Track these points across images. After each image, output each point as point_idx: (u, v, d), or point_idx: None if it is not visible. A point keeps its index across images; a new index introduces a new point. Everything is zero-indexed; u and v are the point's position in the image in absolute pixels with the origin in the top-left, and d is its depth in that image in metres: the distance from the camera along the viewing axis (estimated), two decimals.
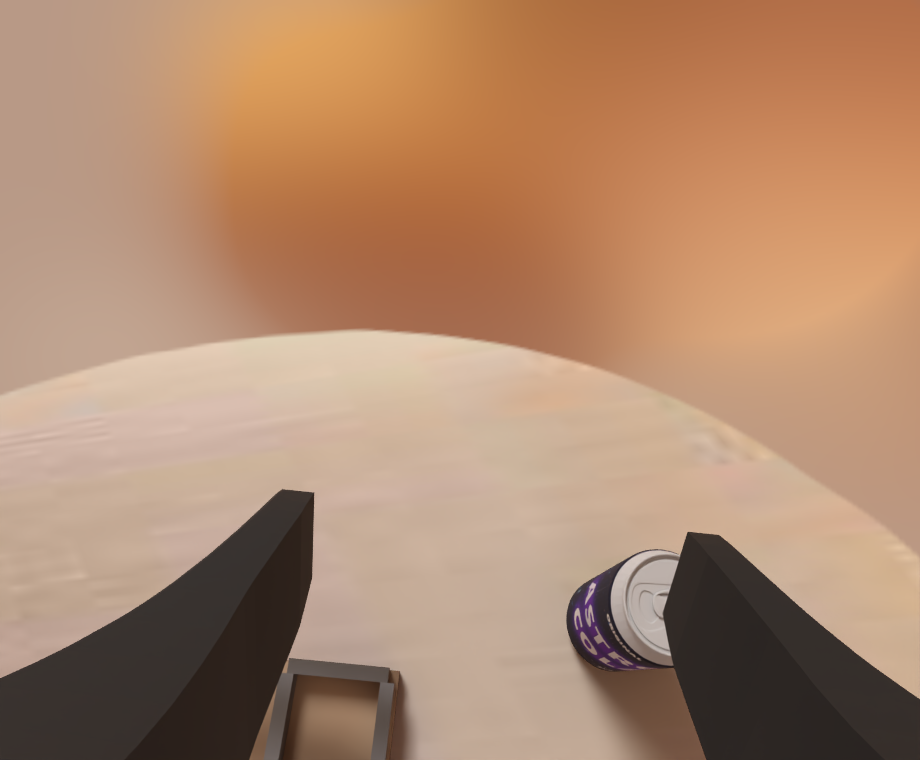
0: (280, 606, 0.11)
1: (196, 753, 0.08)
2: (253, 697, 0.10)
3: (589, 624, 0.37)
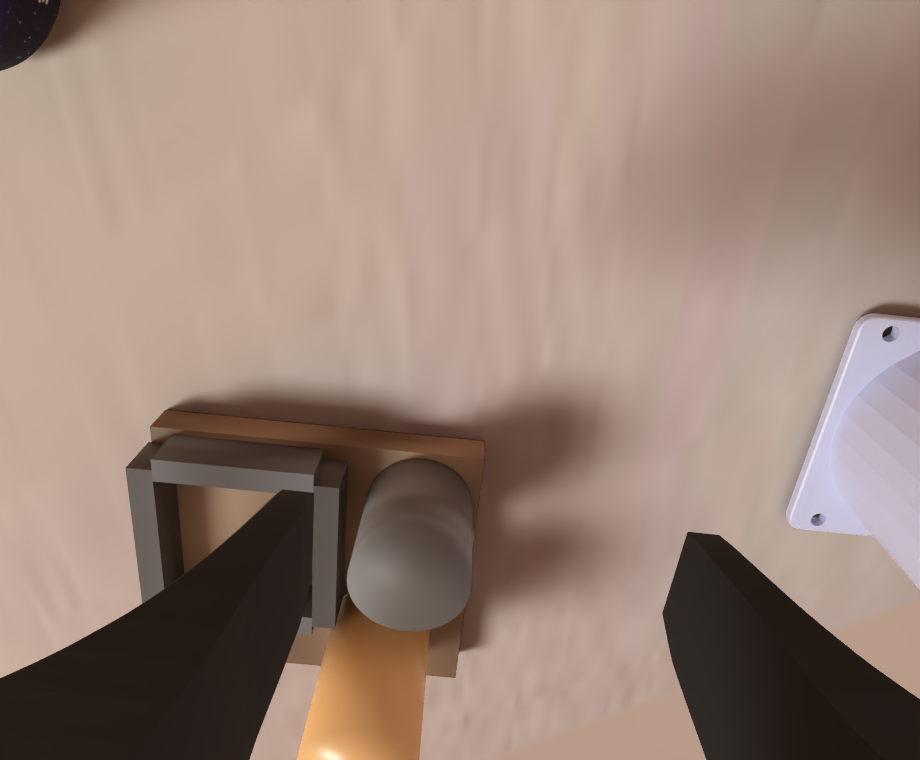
0: (280, 606, 0.11)
1: (196, 753, 0.08)
2: (253, 697, 0.10)
3: None
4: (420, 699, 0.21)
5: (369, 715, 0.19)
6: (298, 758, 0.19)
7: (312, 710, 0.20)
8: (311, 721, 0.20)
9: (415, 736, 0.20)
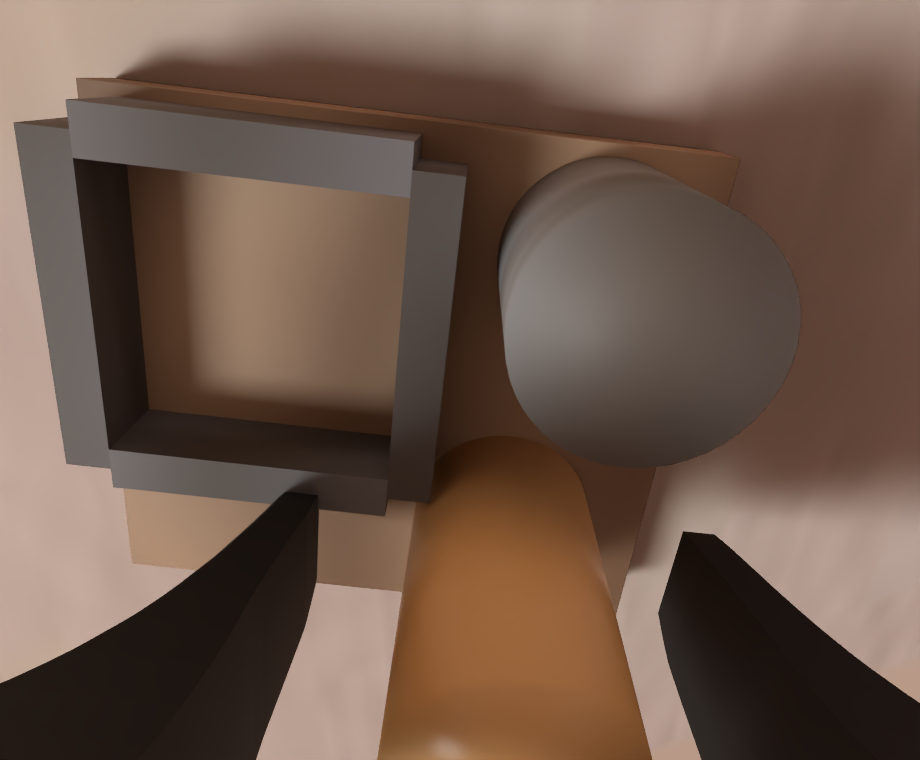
0: (286, 607, 0.11)
1: (205, 754, 0.08)
2: (260, 698, 0.10)
3: None
4: None
5: (549, 649, 0.08)
6: (385, 744, 0.08)
7: (407, 643, 0.10)
8: (410, 663, 0.09)
9: None
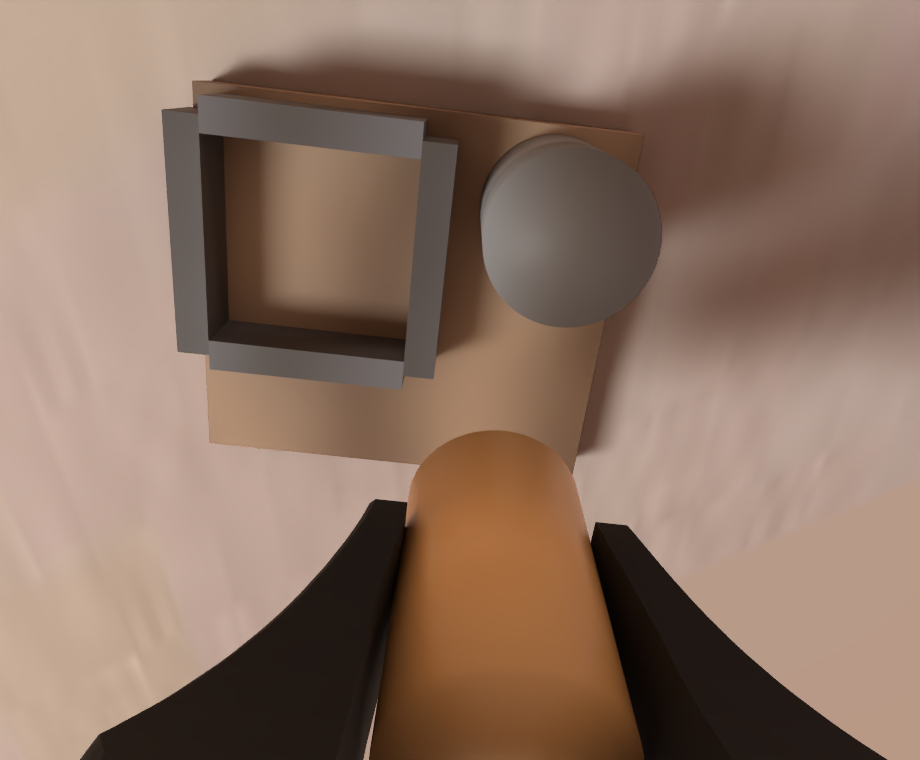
0: (386, 617, 0.11)
1: None
2: (367, 708, 0.10)
3: None
4: None
5: (534, 636, 0.09)
6: (376, 737, 0.09)
7: (396, 637, 0.10)
8: (399, 657, 0.09)
9: (625, 685, 0.09)
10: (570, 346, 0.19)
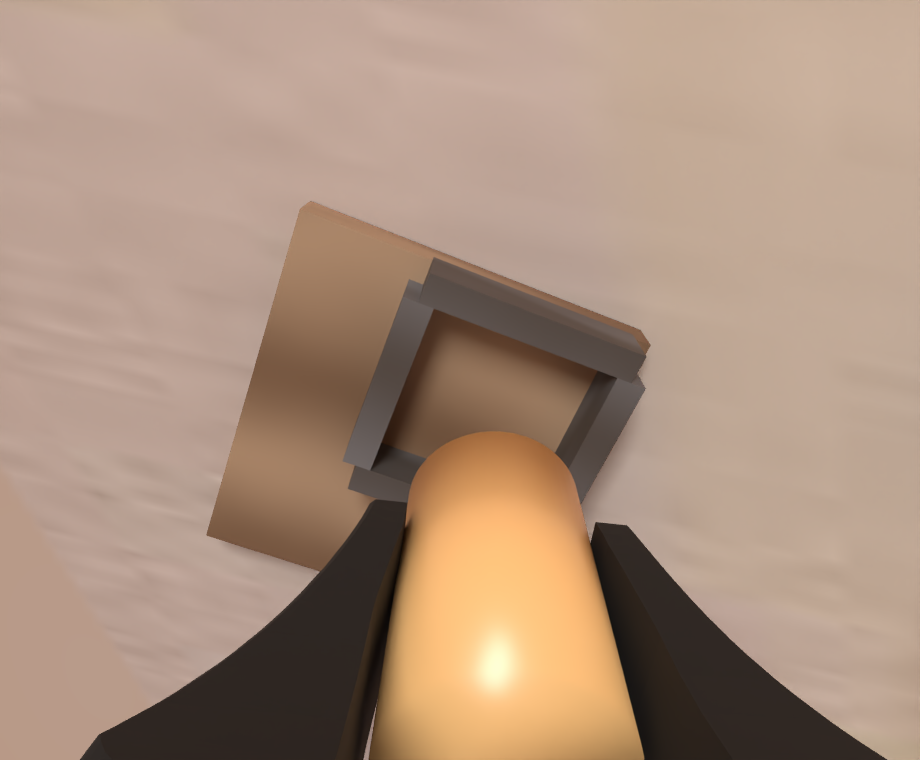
0: (386, 617, 0.11)
1: None
2: (367, 708, 0.10)
3: None
4: None
5: (533, 638, 0.09)
6: (376, 740, 0.09)
7: (396, 639, 0.10)
8: (399, 658, 0.09)
9: (625, 688, 0.09)
10: None
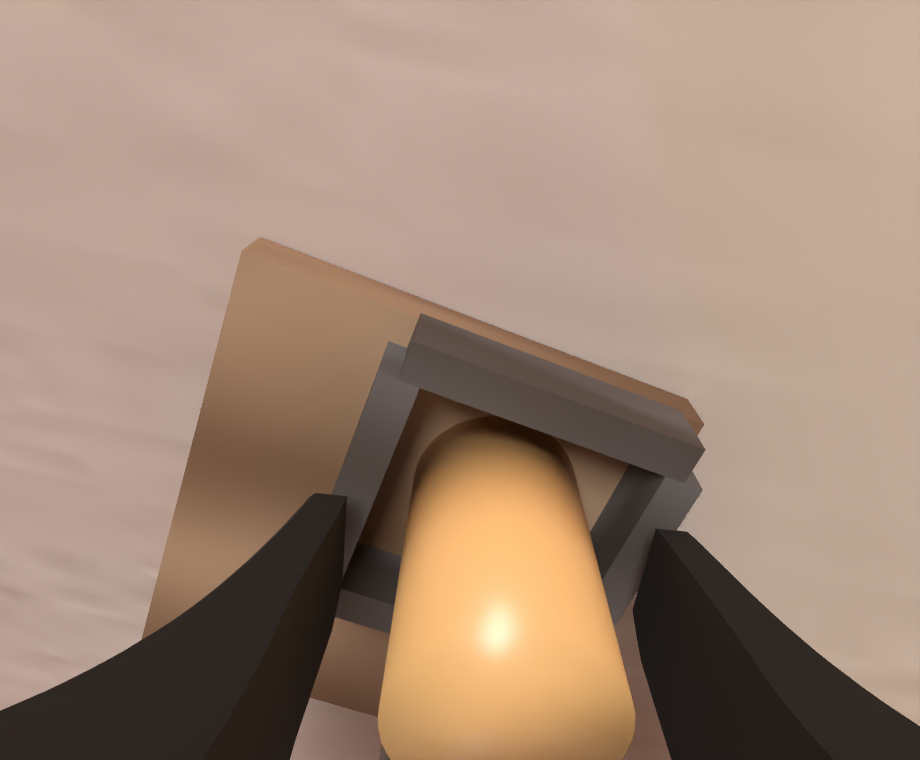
0: (317, 610, 0.11)
1: (250, 758, 0.08)
2: (293, 701, 0.10)
3: None
4: None
5: (532, 601, 0.09)
6: (385, 696, 0.09)
7: (403, 606, 0.10)
8: (406, 622, 0.10)
9: (618, 650, 0.10)
10: None
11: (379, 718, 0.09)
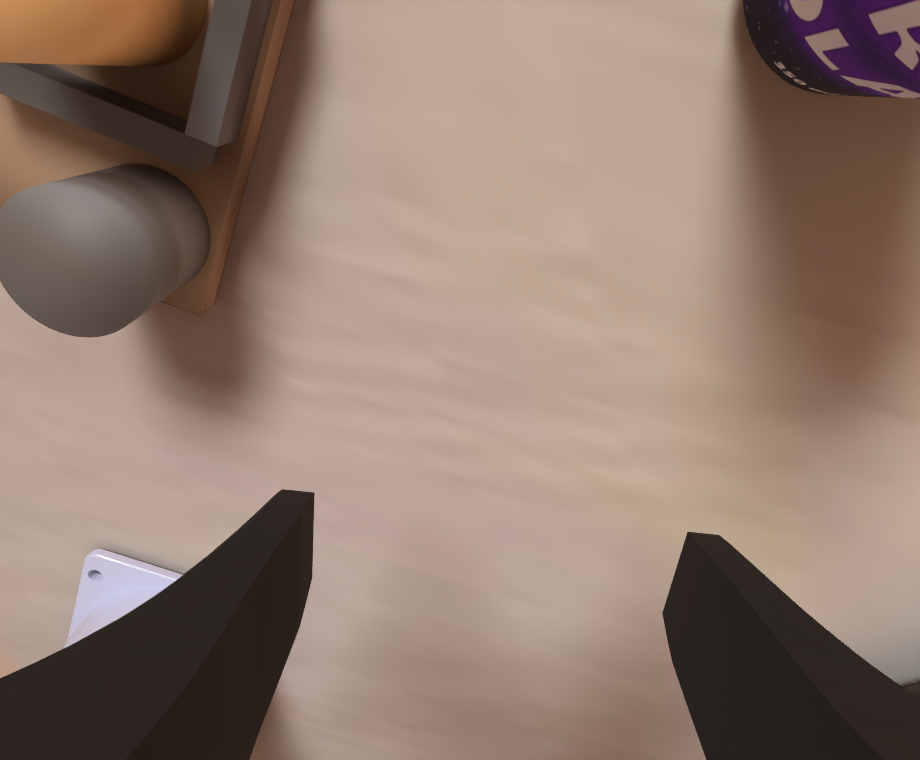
0: (280, 606, 0.11)
1: (196, 753, 0.08)
2: (253, 697, 0.10)
3: None
4: None
5: None
6: None
7: None
8: None
9: None
10: None
11: None
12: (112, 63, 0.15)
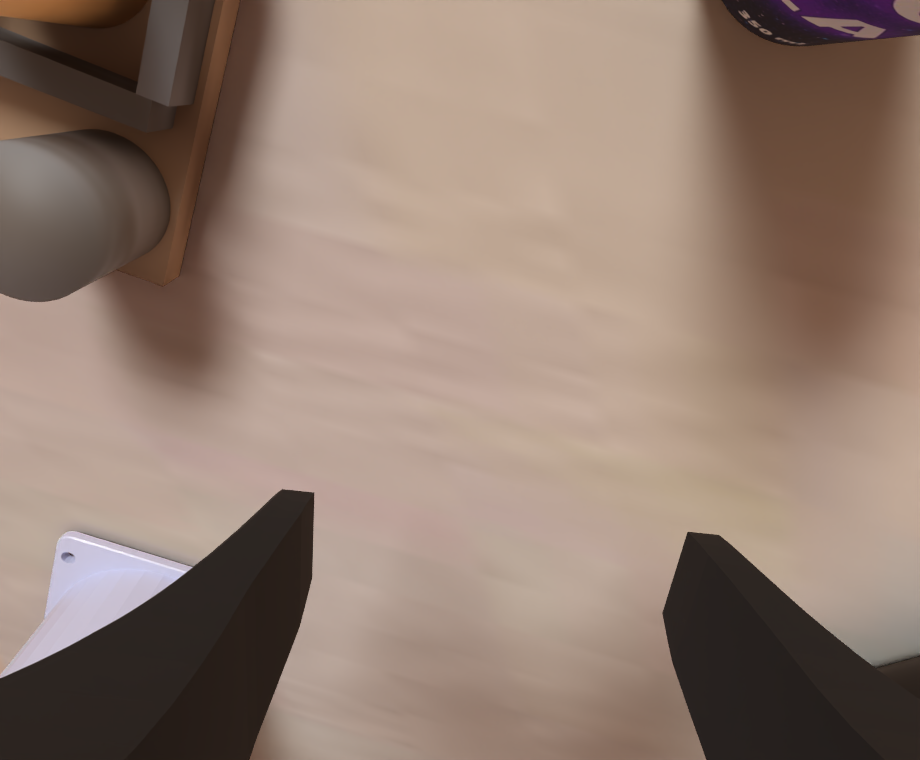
0: (280, 606, 0.11)
1: (196, 753, 0.08)
2: (253, 697, 0.10)
3: None
4: None
5: None
6: None
7: None
8: None
9: None
10: None
11: None
12: (56, 18, 0.15)
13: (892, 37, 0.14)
